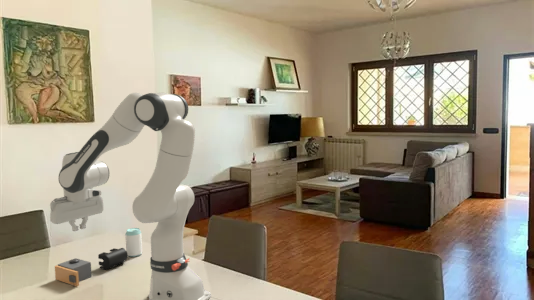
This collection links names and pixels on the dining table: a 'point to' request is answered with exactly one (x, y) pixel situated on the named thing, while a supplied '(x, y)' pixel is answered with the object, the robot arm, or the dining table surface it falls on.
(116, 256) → the black ridged cylinder
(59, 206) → the robot arm
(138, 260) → the dining table surface
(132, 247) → the can
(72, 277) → the door
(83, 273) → the block
